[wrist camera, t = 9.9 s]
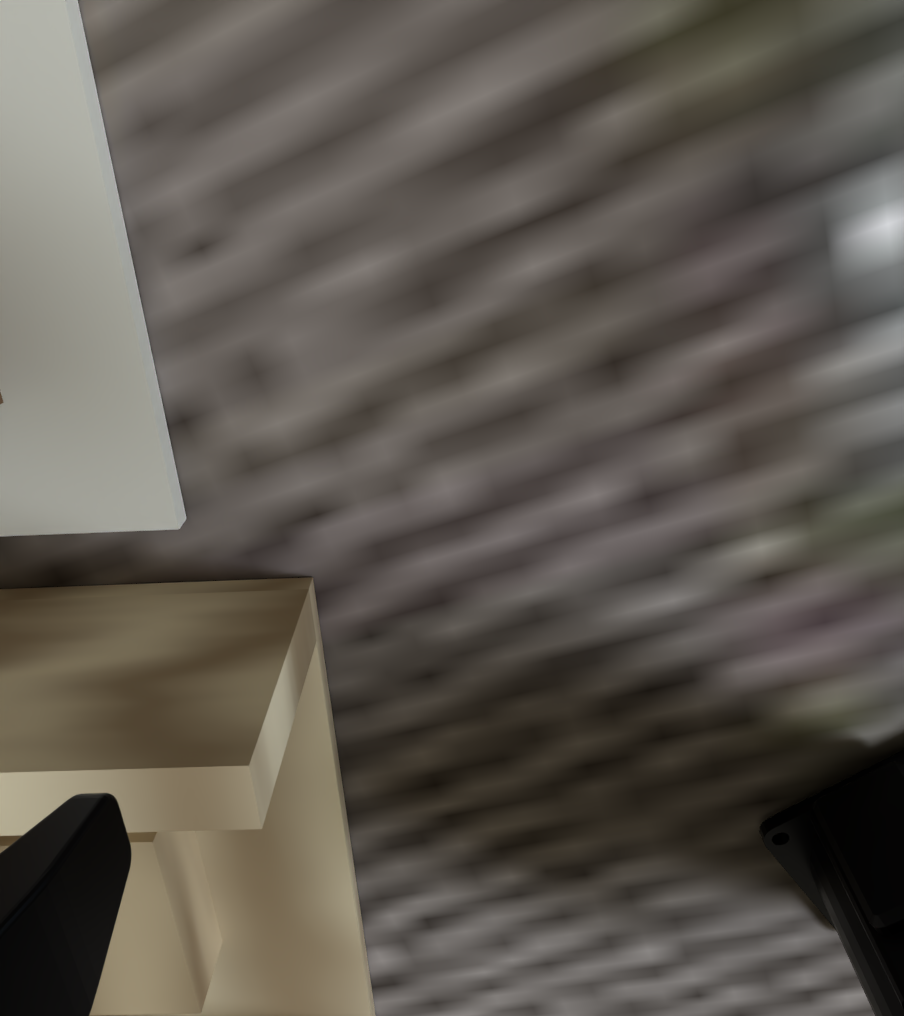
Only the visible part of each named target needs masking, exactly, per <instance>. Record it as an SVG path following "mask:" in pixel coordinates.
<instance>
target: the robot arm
mask: <svg viewBox="0 0 904 1016" xmlns="http://www.w3.org/2000/svg"><path fill="white" fill-rule="evenodd" d="M759 832H760V834H761V837H762V839H763V842H764V844H765V846H766V847H767V849H768V850H769V851H770V852H771V853H772V854H773V856H774V857H775V858H776V859H777V860H778V862H779V863H780V864H781V865H782V866H783V867H784V869H785V870H786V871H787V872H788V873H789V875H790V876H791V877H792V878H793V879H794V881H795V882H796V883H797V884H798V885H799V886H800V888H801V889H802V890H803V891H804V892H805V894H806V895H807V896H808V897H809V898H810V900H811V901H812V902H813V903H814V904H815V905H816V907H817V908H818V909H819V910H820V911H821V913H822V914H823V915H824V916H825V917H826V918H827V920H828V921H829V922H830V923H831V924H832V926H833V927H834V928H835V929H836V931H837V933H838V935H839V937H840V939H841V942H842V944H843V946H844V948H845V950H846V953H847V955H848V957H849V959H850V961H851V964H852V966H853V968H854V970H855V972H856V975H857V977H858V979H859V981H860V983H861V986H862V988H863V990H864V992H865V994H866V997H867V999H868V1001H869V1003H870V1005H871V1008H872V1010H873V1012H874V1014H875V1016H904V751H902V752H900V753H898V754H896V755H894V756H892V757H890V758H888V759H886V760H884V761H882V762H880V763H878V764H876V765H874V766H872V767H870V768H868V769H866V770H864V771H862V772H860V773H858V774H856V775H854V776H852V777H850V778H848V779H846V780H844V781H842V782H840V783H838V784H836V785H834V786H832V787H830V788H828V789H826V790H824V791H822V792H820V793H818V794H816V795H814V796H812V797H810V798H808V799H806V800H804V801H802V802H800V803H798V804H796V805H794V806H792V807H790V808H788V809H786V810H784V811H782V812H780V813H778V814H776V815H774V816H772V817H770V818H768V819H767V820H765V821H764V822H763V823H762V824H761V826H760V831H759ZM778 833H781V834H778ZM776 834H777V835H776ZM131 857H132V852H131V845H130V841H129V837H128V834H127V831H126V827H125V824H124V821H123V817H122V814H121V810H120V807H119V804H118V801H117V799H116V798H115V797H114V796H113V795H112V794H109V793H85V794H77V795H75V796H73V797H71V798H70V799H68V800H67V801H65V802H64V803H63V804H62V805H60V806H59V807H58V808H57V809H55V810H54V811H53V812H52V813H50V814H49V815H48V816H47V817H45V818H44V819H43V820H41V821H40V822H39V823H38V824H36V825H35V826H34V827H33V828H31V829H30V830H29V831H28V832H26V833H25V834H24V835H23V836H21V837H20V838H19V839H17V840H16V841H15V842H14V843H12V844H11V845H10V846H9V847H7V848H6V849H5V850H4V851H2V852H1V853H0V1016H89V1015H90V1012H91V1009H92V1006H93V1003H94V999H95V996H96V993H97V989H98V986H99V982H100V979H101V975H102V971H103V967H104V964H105V960H106V956H107V953H108V949H109V945H110V941H111V938H112V934H113V930H114V926H115V923H116V919H117V915H118V912H119V908H120V904H121V900H122V897H123V893H124V889H125V886H126V882H127V878H128V874H129V871H130V866H131Z"/></svg>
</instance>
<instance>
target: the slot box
mask: <svg viewBox="0 0 904 1016" xmlns="http://www.w3.org/2000/svg"><path fill="white" fill-rule="evenodd" d="M85 793H109V794H112V795H113V796H114V797H115V798H116V799H117V801H118V804H119V807H120V810H121V814H122V817H123V821H124V824H125V827H126V831H127V834H128V837H129V841H130V845H131V852H132V857H131V866H130V871H129V874H128V878H127V882H126V886H125V889H124V893H123V897H122V900H121V904H120V908H119V912H118V915H117V919H116V923H115V926H114V930H113V934H112V938H111V941H110V945H109V949H108V953H107V956H106V960H105V964H104V967H103V971H102V975H101V979H100V982H99V986H98V989H97V993H96V996H95V999H94V1003H93V1006H92V1009H91V1012H90V1015H89V1016H376V1015H375V1008H374V1001H373V994H372V987H371V980H370V973H369V966H368V959H367V952H366V945H365V938H364V931H363V924H362V917H361V910H360V903H359V896H358V889H357V883H356V876H355V869H354V862H353V855H352V848H351V841H350V834H349V827H348V820H347V813H346V806H345V799H344V792H343V785H342V778H341V771H340V764H339V757H338V750H337V743H336V736H335V729H334V722H333V715H332V708H331V701H330V694H329V687H328V680H327V673H326V666H325V659H324V652H323V645H322V638H321V631H320V624H319V617H318V610H317V603H316V596H315V589H314V582H313V577H309V578H283V579H256V580H230V581H203V582H177V583H150V584H124V585H97V586H71V587H44V588H18V589H0V853H1V852H2V851H4V850H5V849H6V848H7V847H9V846H10V845H11V844H12V843H14V842H15V841H16V840H17V839H19V838H20V837H21V836H23V835H24V834H25V833H26V832H28V831H29V830H30V829H31V828H33V827H34V826H35V825H36V824H38V823H39V822H40V821H41V820H43V819H44V818H45V817H47V816H48V815H49V814H50V813H52V812H53V811H54V810H55V809H57V808H58V807H59V806H60V805H62V804H63V803H64V802H65V801H67V800H68V799H70V798H71V797H73V796H75V795H77V794H85Z"/></svg>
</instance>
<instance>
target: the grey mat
mask: <svg viewBox="0 0 904 1016" xmlns="http://www.w3.org/2000/svg"><path fill="white" fill-rule="evenodd" d="M0 392H1V395H2V399H3V402H4V403H2V404H0V536H25V535H49V534H74V533H99V532H124V531H149V530H174V529H180V527H181V526H182V525H183V523H184V522H185V520H186V519H187V518H186V513H185V509H184V504H183V499H182V494H181V490H180V485H179V480H178V475H177V471H176V466H175V461H174V456H173V452H172V447H171V442H170V437H169V433H168V428H167V423H166V418H165V414H164V409H163V404H162V399H161V395H160V390H159V385H158V380H157V376H156V371H155V366H154V361H153V357H152V352H151V347H150V342H149V338H148V333H147V328H146V323H145V319H144V314H143V309H142V304H141V299H140V295H139V290H138V285H137V280H136V276H135V271H134V266H133V261H132V257H131V252H130V247H129V242H128V238H127V233H126V228H125V223H124V219H123V214H122V209H121V204H120V200H119V195H118V190H117V185H116V181H115V176H114V171H113V166H112V162H111V157H110V152H109V147H108V143H107V138H106V133H105V128H104V124H103V119H102V114H101V109H100V105H99V100H98V95H97V90H96V85H95V81H94V76H93V71H92V66H91V62H90V57H89V52H88V47H87V43H86V38H85V33H84V28H83V24H82V19H81V14H80V9H79V5H78V0H0Z"/></svg>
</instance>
